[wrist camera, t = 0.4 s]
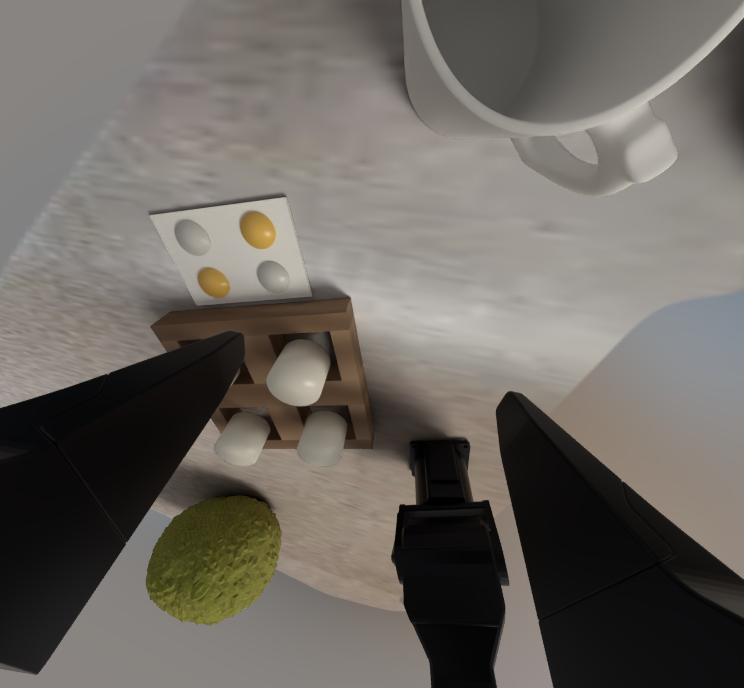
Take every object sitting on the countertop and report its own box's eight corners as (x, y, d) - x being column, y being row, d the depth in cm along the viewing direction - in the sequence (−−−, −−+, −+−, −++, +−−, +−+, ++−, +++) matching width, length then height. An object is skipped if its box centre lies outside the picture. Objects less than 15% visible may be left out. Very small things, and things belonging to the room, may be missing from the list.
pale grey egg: (350, 437, 28) (345, 466, 26) (312, 437, 29) (303, 466, 26) (343, 409, 26) (336, 439, 23) (302, 410, 26) (291, 439, 24)
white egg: (334, 377, 24) (326, 405, 21) (289, 379, 24) (276, 406, 22) (324, 337, 21) (313, 364, 19) (275, 340, 22) (258, 366, 19)
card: (312, 294, 22) (310, 297, 22) (198, 304, 24) (195, 306, 23) (286, 196, 18) (284, 197, 18) (152, 214, 20) (147, 216, 19)
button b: (275, 437, 29) (263, 466, 27) (240, 438, 30) (224, 465, 27) (262, 411, 27) (247, 439, 24) (224, 412, 28) (206, 439, 25)
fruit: (247, 533, 50) (152, 625, 38) (221, 463, 48) (109, 539, 35) (312, 562, 42) (216, 695, 29) (284, 479, 39) (165, 587, 27)
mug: (372, 53, 14) (309, -158, 4) (497, -104, 11) (1106, -1700, 2) (474, 217, 18) (562, 297, 8) (587, 130, 15) (924, 97, 5)
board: (374, 429, 31) (372, 448, 29) (241, 431, 33) (231, 448, 31) (350, 297, 22) (345, 312, 20) (170, 311, 24) (150, 326, 22)
